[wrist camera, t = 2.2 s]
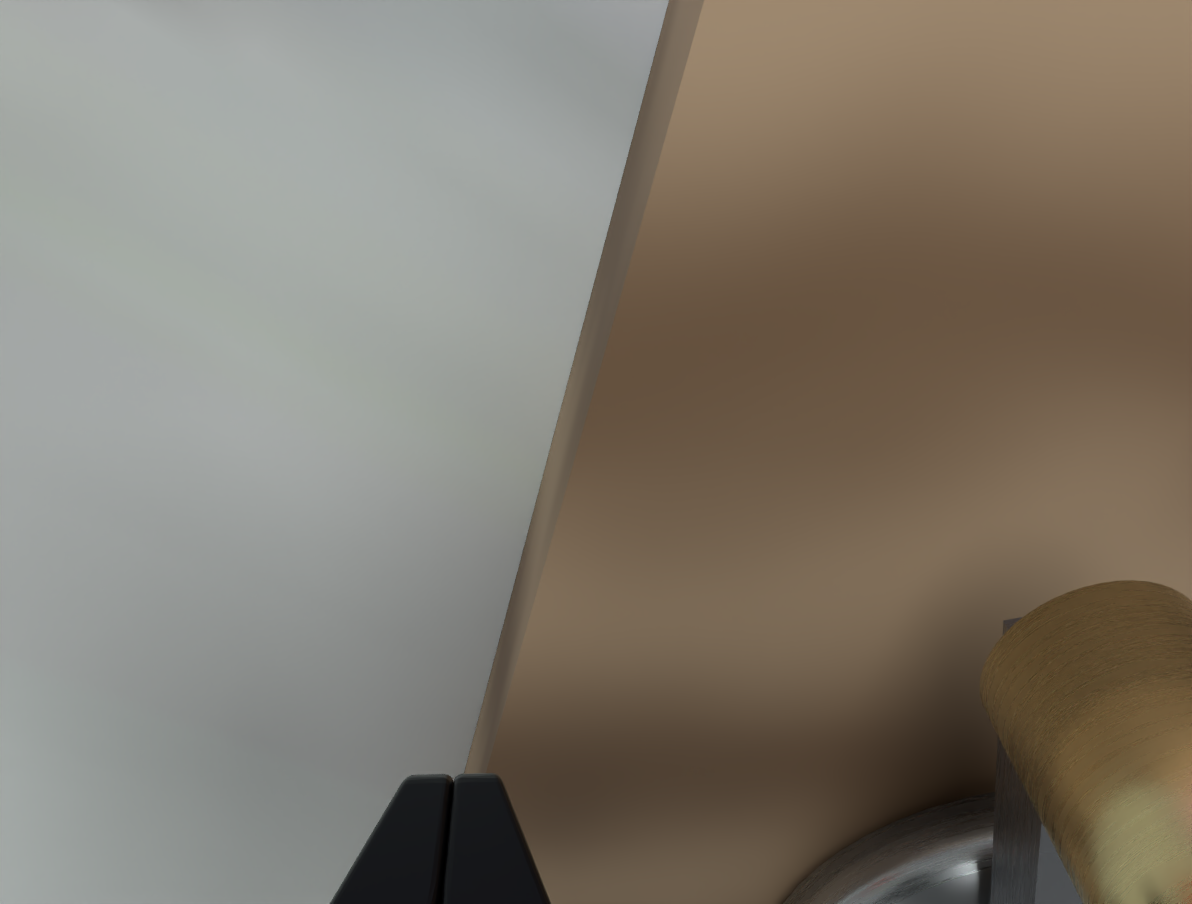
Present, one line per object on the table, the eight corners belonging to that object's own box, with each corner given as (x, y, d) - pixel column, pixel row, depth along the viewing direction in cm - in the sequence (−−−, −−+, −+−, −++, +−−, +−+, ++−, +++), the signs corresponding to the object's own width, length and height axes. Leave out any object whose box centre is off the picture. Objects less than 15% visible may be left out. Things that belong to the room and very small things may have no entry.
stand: (1160, 1091, 26) (1264, 1302, 22) (393, 1038, 22) (366, 1280, 19) (2096, 236, 14) (2678, 395, 10) (717, -184, 10) (826, -180, 6)
